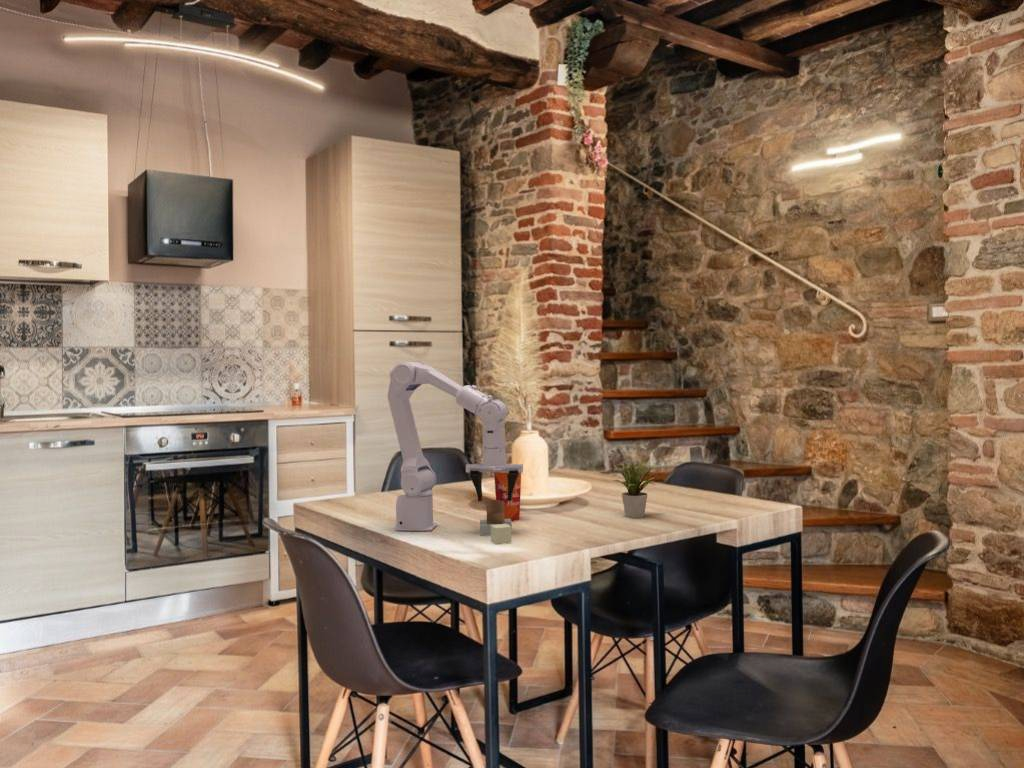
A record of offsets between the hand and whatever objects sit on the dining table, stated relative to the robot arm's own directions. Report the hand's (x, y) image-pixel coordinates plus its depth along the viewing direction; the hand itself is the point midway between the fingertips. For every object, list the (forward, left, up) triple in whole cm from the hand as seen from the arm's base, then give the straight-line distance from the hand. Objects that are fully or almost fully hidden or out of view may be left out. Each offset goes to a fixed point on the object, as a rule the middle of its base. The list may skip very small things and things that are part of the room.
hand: (494, 500), depth 211 cm
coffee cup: (+1, +17, -8) cm, 19 cm away
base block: (0, 0, -9) cm, 9 cm away
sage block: (+3, -11, -8) cm, 14 cm away
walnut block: (0, 0, -6) cm, 6 cm away
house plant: (+36, +21, -8) cm, 43 cm away
